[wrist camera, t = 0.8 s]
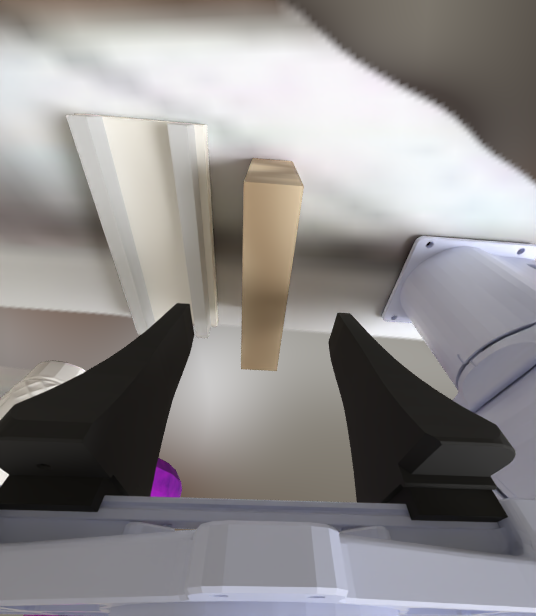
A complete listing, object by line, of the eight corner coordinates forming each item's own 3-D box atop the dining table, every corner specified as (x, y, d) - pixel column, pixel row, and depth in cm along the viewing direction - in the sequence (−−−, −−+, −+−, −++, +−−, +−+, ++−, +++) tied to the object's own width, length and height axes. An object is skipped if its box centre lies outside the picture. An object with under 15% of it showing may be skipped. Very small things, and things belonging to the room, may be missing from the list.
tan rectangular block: (292, 161, 16) (303, 186, 11) (275, 309, 23) (276, 370, 18) (252, 157, 16) (243, 181, 10) (247, 308, 23) (241, 368, 18)
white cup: (63, 401, 33) (-3, 494, 25) (12, 362, 28) (-90, 460, 20) (117, 393, 31) (66, 488, 24) (73, 350, 27) (-9, 451, 19)
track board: (206, 124, 15) (197, 126, 13) (218, 319, 24) (213, 338, 22) (84, 113, 15) (54, 113, 13) (143, 315, 24) (131, 333, 22)
